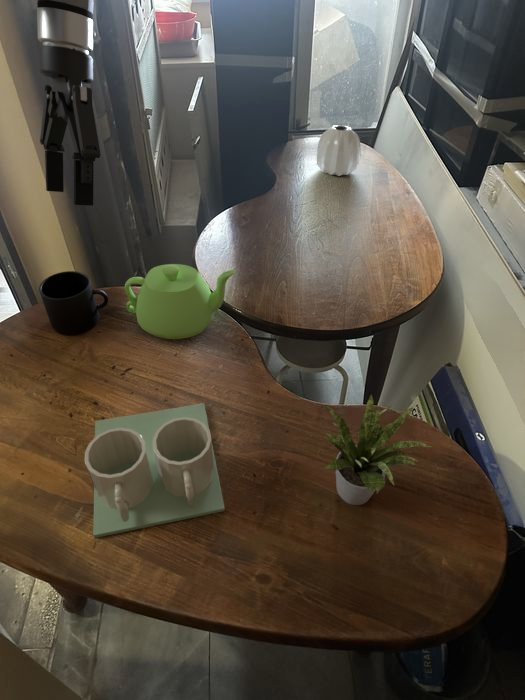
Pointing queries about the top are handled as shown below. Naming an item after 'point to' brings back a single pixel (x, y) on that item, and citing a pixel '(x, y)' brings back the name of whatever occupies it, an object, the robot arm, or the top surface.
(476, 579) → the top surface
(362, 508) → the top surface
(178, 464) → the cream mug right
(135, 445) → the cream mug left
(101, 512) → the mug mat
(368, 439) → the house plant
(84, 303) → the mug
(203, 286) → the teapot
